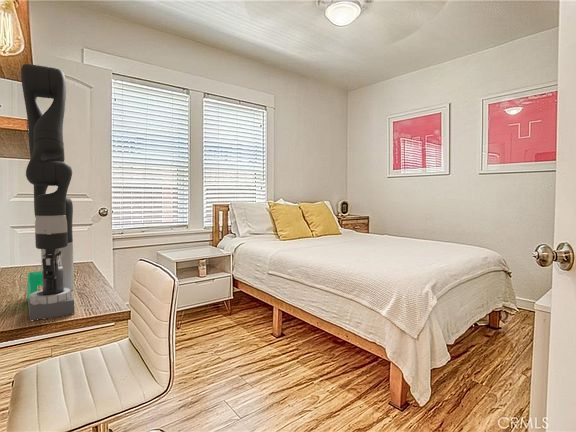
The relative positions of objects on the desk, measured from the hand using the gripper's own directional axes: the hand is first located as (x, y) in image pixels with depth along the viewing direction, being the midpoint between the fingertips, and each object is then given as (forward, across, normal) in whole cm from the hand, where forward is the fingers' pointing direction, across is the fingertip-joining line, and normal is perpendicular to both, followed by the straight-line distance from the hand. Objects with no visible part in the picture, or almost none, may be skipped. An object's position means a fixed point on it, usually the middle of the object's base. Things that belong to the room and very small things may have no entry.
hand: (53, 289), depth 96 cm
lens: (+1, 0, 0) cm, 1 cm away
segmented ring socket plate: (+7, 0, -1) cm, 7 cm away
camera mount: (+7, -12, -4) cm, 14 cm away
